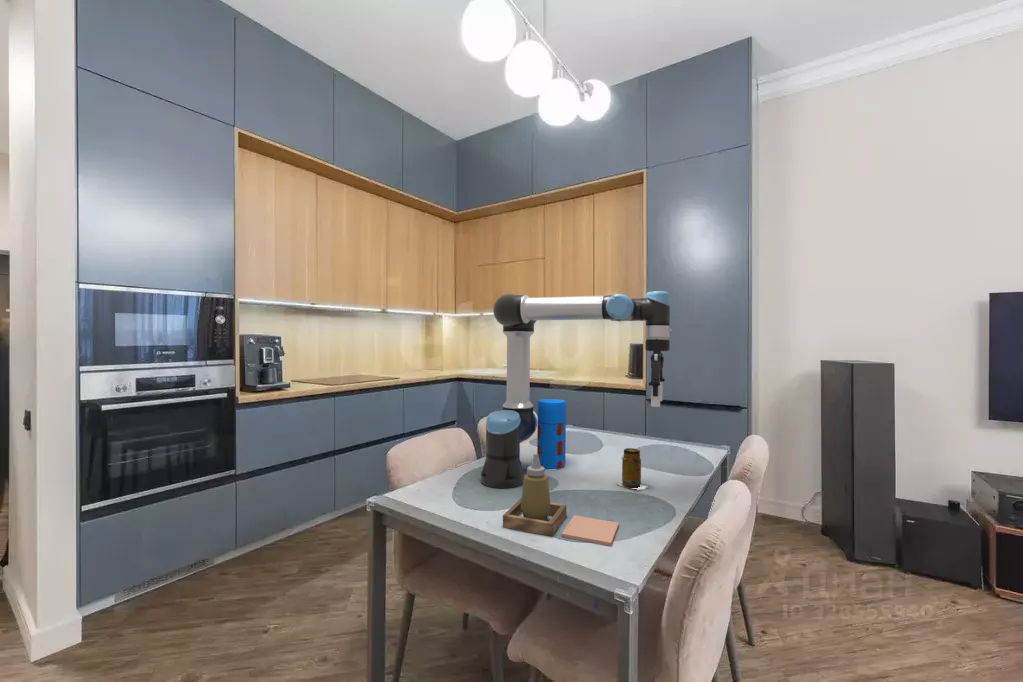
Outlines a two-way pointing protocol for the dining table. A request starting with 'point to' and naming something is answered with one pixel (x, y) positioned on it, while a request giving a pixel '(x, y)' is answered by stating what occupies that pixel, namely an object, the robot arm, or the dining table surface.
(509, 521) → the bottle holder
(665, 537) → the dining table surface
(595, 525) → the tile
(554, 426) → the thermos
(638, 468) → the condiment
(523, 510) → the squeeze bottle
